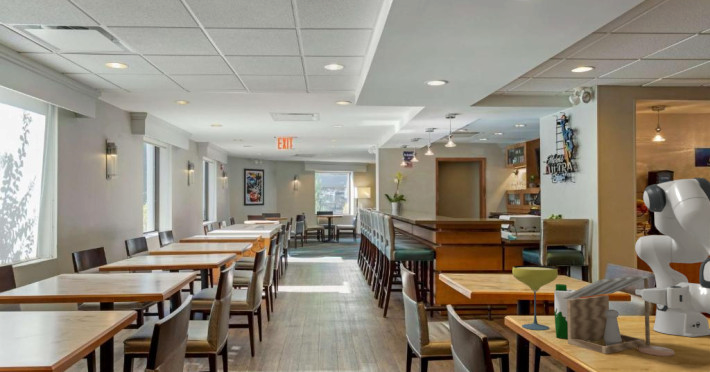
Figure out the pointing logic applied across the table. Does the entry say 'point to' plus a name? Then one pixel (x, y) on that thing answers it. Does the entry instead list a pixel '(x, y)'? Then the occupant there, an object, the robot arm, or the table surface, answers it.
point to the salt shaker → (612, 328)
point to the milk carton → (561, 310)
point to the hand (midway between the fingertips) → (645, 290)
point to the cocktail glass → (535, 284)
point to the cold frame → (600, 315)
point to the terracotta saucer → (655, 350)
